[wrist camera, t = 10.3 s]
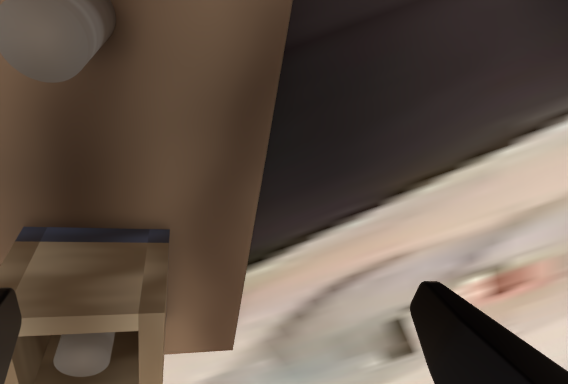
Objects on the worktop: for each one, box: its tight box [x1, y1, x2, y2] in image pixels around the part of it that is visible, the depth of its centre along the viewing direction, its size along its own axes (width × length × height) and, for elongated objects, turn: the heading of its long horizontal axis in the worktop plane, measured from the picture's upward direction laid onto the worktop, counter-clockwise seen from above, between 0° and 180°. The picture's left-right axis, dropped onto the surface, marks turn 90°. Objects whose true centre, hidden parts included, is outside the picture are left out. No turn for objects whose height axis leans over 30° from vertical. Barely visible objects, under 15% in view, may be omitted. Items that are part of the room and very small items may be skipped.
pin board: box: [0, 0, 293, 377], centre depth 15 cm, size 14×24×6 cm, turn 170°
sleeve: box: [0, 227, 170, 384], centre depth 17 cm, size 6×6×5 cm
